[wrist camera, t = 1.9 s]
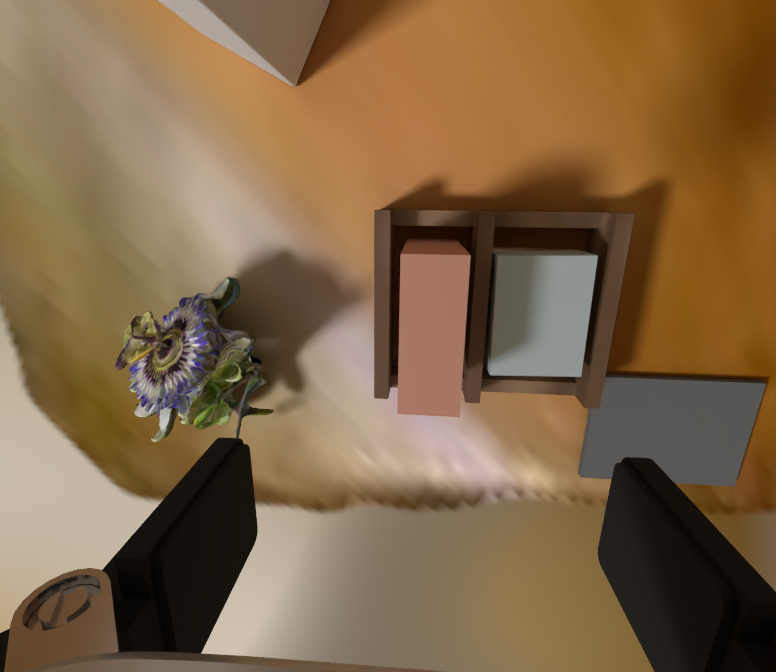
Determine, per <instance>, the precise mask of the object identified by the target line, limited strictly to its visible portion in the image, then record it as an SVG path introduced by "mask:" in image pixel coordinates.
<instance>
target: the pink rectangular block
mask: <svg viewBox="0 0 776 672" xmlns="http://www.w3.org/2000/svg"><path fill="white" fill-rule="evenodd" d="M470 258H471V255H470V254H469V253H468V252H467V251H466V249H465V248H464V247H463V246H462V245H461V244H460V243H459V242H458V240H457V239H421V238H408V239H407V241H406V244H405V246H404V248H403V250H402V252H401V255H400V308H399V361H398V413H397V414H410V415H430V416H451V417H460V403H461V389H462V374H463V360H464V345H465V331H466V316H467V302H468V287H469V273H470Z"/></svg>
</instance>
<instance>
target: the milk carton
mask: <svg viewBox="0 0 776 672" xmlns="http://www.w3.org/2000/svg"><path fill="white" fill-rule="evenodd" d="M159 1H160V2H161V3H162V4H164V5H165V6H166V7H168V8H169V9H170V10H172V11H173V12H174V13H176V14H177V15H178V16H180V17H181V18H182V19H183V20H185V21H186V22H187V23H189V24H190V25H191V26H193V27H194V28H195V29H197V30H198V31H199V32H201V33H202V34H203V35H205V36H207V37H208V38H210V39H212V40H213V41H215V42H217V43H219V44H220V45H222V46H224V47H225V48H227V49H229V50H231V51H232V52H234V53H236V54H237V55H239V56H241V57H243V58H244V59H246V60H248V61H250V62H251V63H253V64H255V65H256V66H258V67H260V68H262V69H263V70H265V71H267V72H268V73H270V74H272V75H274V76H275V77H277V78H279V79H280V80H282V81H284V82H286V83H287V84H289V85H291V86H293V87H295V86H296V84H297V82H298V79H299V77H300V74H301V72H302V69H303V67H304V64H305V62H306V59H307V57H308V55H309V52H310V50H311V47H312V45H313V42H314V40H315V37H316V35H317V32H318V30H319V27H320V25H321V22H322V20H323V17H324V15H325V13H326V10H327V8H328V5H329V3H330V0H159Z"/></svg>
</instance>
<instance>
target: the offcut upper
mask: <svg viewBox="0 0 776 672" xmlns="http://www.w3.org/2000/svg"><path fill="white" fill-rule="evenodd" d="M597 259H598V255H595V254H591V253H588V252H585V251H492V263H491V275H490V286H489V298H488V312H487V329H486V345H485V361H484V362H485V365H486V367H487V370H488V372H489V375H502V376H560V377H581V375H582V367H583V360H584V353H585V346H586V339H587V331H588V324H589V317H590V310H591V302H592V295H593V288H594V281H595V273H596V266H597Z"/></svg>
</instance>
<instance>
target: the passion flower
mask: <svg viewBox="0 0 776 672" xmlns="http://www.w3.org/2000/svg"><path fill="white" fill-rule="evenodd" d="M239 294H240V286H239V283H238V281H237V279H235V278H230V277H227V278H226V279H225V281H224V282H223V284H222V285H221V286H220V287H219V288H218V289H217V290H216V292H215V293H214V294H212V295H209V294H204V293H198V294H197V295H195V296H193V297H192V298H182V299H181V300H180V302H179V307H174V309H173V310H172V311H171V312H170V313H169V315H166V316H163V319H164V322H163V324H162V325H159V324H158V323H157V321H156V320H155V319H154V318H153V315H152V312H149V311H148V312H147V313H146V314H145V315H144V317H143V318H142V317H141V316H136V317H135V318H134V319H133V321H132V322H131V325H130V326H129V327H128V328H127V329H126V331H125V338H124V349H123V350H122V351H121V353H120V355H119V357H118V359H117V362H116V364H115V367H116V369H117V370H121V369H123V368H124V367H125V366H126V365H127V364H128V363H131V367H130V369H129V370H130V371H131V374H130V375H131V378H129V379H128V380H129V381H133V382H132V384H131V385H130V387H129V389H128V390H130V391H132V392H137V394H138V396H137V399H141V400H142V401H141V402H140V404H139V405H138V404H136V405H137V406H138V407H137V409H136V410H135V415H137V416H139V417H149V416H152V415H154V414H156V413H157V417H158V415H159V413H160V423H159V426H160V430H159V431H158V433H157V434H156V435H155V438H151V440H152V441H153V442H158V441H160V440H162V439H164V438H166V437H167V436H168V435H169V433H170V432H171V430H172V428H173V425H174V421H175V419H176V416H177V414H178V415H179V416H181V417H182V418H181V419H179V420H181V423H183V424H185V425H191V424H193V423H194V424H196V429H197V430H201V429H204V428H206V427H209V426H212V425H215V424H217V425H221V424H223V425H226V424H227V423H228V421H229V419H230V415H231V413H232V411H235V412H236V414H238V415H239V420H238V424H237V428H236V436H235V438H238V437H239V433H240V427H241V420H242V418H243V417H244V416H246V415H268V414H271V413H272V412H274V411H273V410H270V409H257V408H252V407H250V406H249V405H248V404H247V398H248V396H249V395H250V394H251V392H252V391H254V390H256V389H257V388H258V387H260V386H261V385H263V384H269V381H267V380H265V379H263V378H261V373H260V372H259V370H260V368H261V367H262V365H261V364H262V363H261V361H260V360H259V359H258V358H257V357H255V356H254V354H253V346H252V345H253V342H254V341H255V338H254V337H253V336H252V335H251V334H250V333H248V332H246V331H240V330H238V331H234V330H228V329H225V328H222V327H221V326H220V325H219V323H218V320H219V319H220V318H221V317H222V316H223V314H224V307H225V306H227V305H229V304H232V303H234V302H235V301H236V299H237V298H238V297H239ZM244 360H248V361H246V362H242V361H244ZM253 365H256V366H255V368H254V371H249V372H247V373H246V371H247V369H248V368H249V367H251V366H253ZM237 368H239V372H238V373H237ZM236 373H237V374H236ZM231 382H234V383H233V384H232V385H231V386H230V387H229V388H227V387H228V386H229V385H230V383H231ZM243 383H246V387H245V392H244V395H243V398H242V400H241V401H240V402H237V401H235V400H234V398H233V396H232V392H233V390H234V389H235V388H236V387H237V386H239V385H241V384H243ZM205 386H206V388H207V390H205V389H204V387H205ZM225 388H227V389H225Z"/></svg>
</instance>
